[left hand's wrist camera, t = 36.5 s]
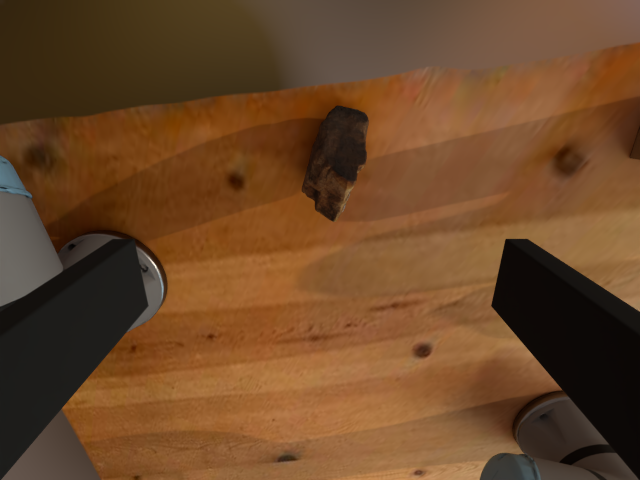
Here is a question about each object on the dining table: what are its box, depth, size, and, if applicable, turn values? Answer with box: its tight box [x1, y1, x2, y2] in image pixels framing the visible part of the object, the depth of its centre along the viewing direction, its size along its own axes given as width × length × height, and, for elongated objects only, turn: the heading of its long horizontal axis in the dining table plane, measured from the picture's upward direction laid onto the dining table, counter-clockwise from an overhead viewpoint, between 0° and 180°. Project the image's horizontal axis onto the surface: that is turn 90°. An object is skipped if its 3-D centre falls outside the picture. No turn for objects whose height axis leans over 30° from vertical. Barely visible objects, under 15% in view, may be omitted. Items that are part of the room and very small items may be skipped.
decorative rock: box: [302, 106, 369, 222], centre depth 39 cm, size 12×6×11 cm, turn 158°
